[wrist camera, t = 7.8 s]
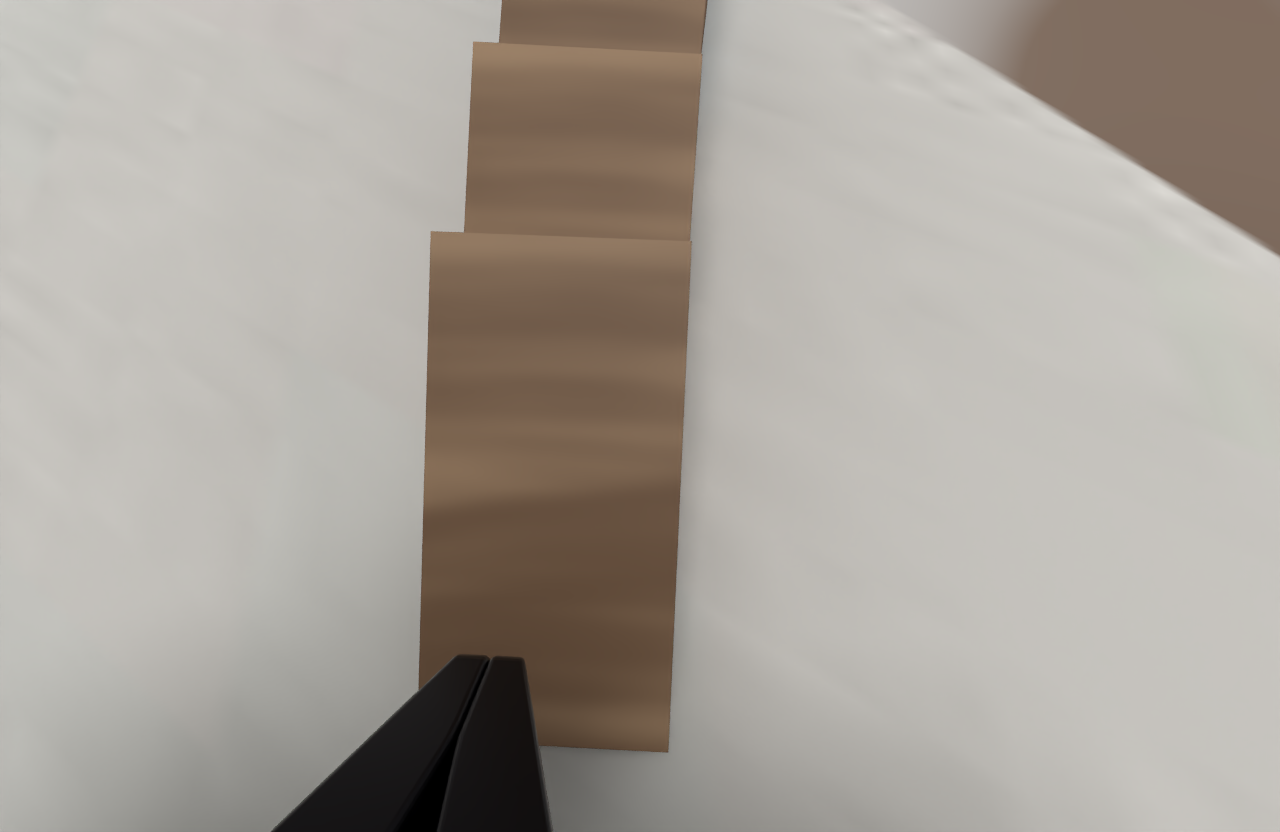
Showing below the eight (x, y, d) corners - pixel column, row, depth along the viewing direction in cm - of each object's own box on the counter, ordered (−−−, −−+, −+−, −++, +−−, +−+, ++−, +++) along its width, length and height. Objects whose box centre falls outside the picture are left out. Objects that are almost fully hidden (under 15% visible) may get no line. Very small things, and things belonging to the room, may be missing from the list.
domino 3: (668, 752, 13) (691, 241, 13) (417, 739, 13) (430, 231, 13) (666, 703, 15) (686, 260, 15) (448, 692, 15) (461, 252, 15)
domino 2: (671, 510, 15) (702, 53, 14) (451, 494, 15) (473, 41, 14) (669, 494, 17) (696, 93, 16) (475, 481, 17) (495, 82, 16)
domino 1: (676, 312, 17) (714, -101, 16) (480, 295, 17) (510, -116, 16) (675, 319, 19) (708, -48, 18) (499, 304, 19) (527, -61, 18)
